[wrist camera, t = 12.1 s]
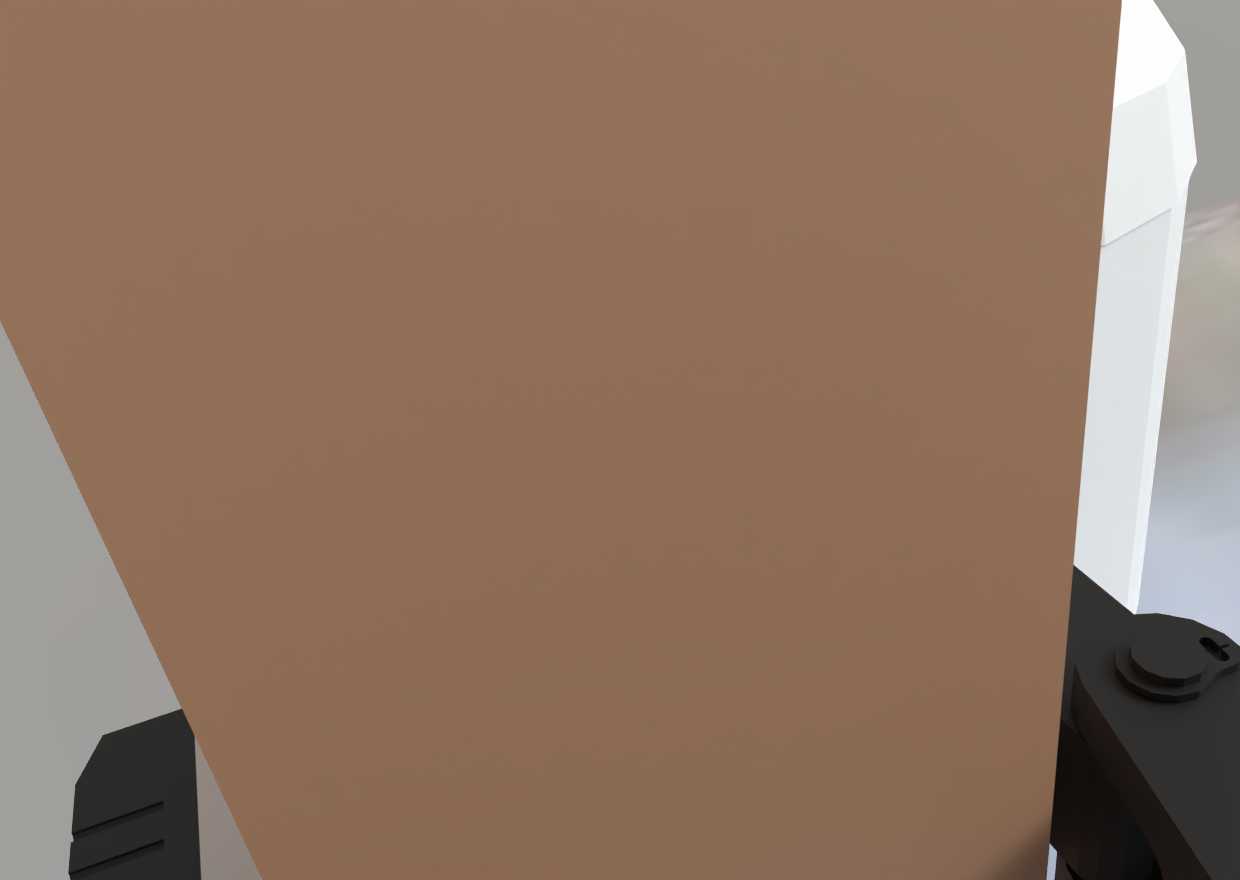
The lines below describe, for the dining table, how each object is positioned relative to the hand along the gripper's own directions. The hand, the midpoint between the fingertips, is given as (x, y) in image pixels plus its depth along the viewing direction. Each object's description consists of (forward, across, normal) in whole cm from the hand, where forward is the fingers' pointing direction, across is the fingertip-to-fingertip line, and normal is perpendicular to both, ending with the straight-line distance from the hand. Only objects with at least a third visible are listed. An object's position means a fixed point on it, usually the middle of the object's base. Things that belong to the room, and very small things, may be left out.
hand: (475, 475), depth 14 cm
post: (-5, 0, -9) cm, 10 cm away
